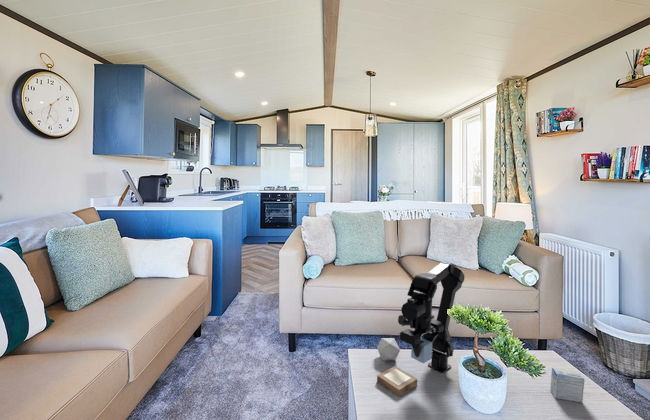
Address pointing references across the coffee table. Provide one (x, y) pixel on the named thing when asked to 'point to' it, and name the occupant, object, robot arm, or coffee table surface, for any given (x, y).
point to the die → (388, 349)
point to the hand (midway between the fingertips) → (421, 354)
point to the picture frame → (397, 380)
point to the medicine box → (567, 385)
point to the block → (424, 352)
